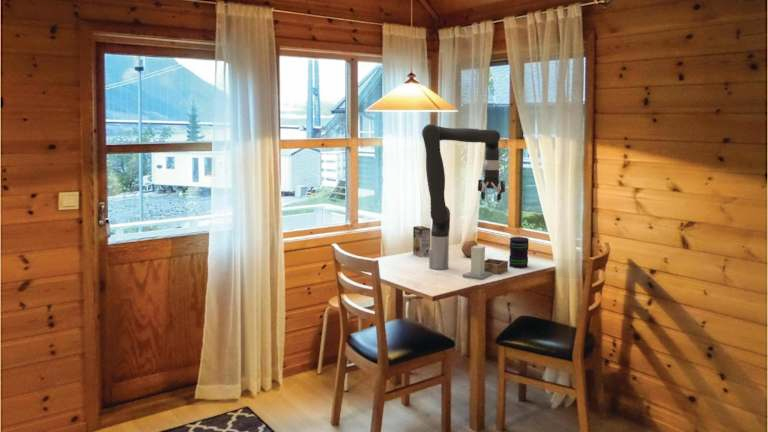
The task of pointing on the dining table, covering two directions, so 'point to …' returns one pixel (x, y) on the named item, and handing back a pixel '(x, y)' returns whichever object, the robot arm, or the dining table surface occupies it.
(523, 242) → the dark blue cylinder
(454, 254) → the dining table surface
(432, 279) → the dining table surface
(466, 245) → the onion
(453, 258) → the dining table surface
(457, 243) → the dining table surface
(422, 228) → the coffee box
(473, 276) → the blue-grey square panel
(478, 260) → the tea tin
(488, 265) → the crate
